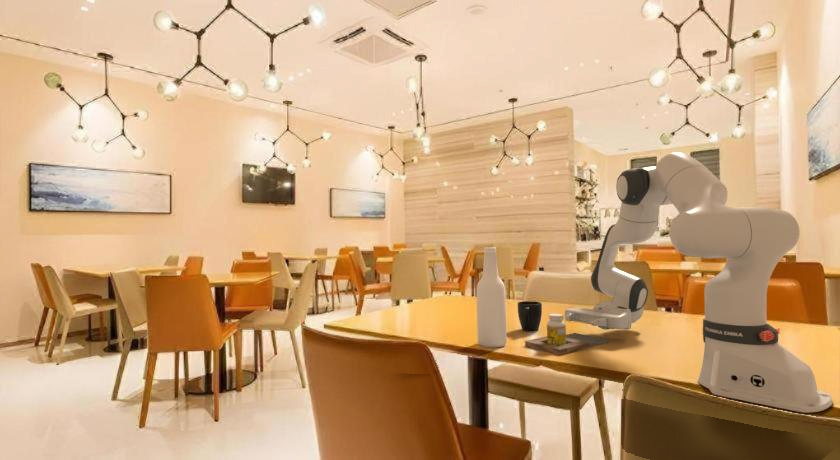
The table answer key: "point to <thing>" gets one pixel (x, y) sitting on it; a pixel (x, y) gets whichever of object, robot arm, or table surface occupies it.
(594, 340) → the mat
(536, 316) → the mug
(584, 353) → the table surface
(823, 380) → the table surface
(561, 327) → the supplement bottle
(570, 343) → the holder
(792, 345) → the table surface
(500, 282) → the alcohol
